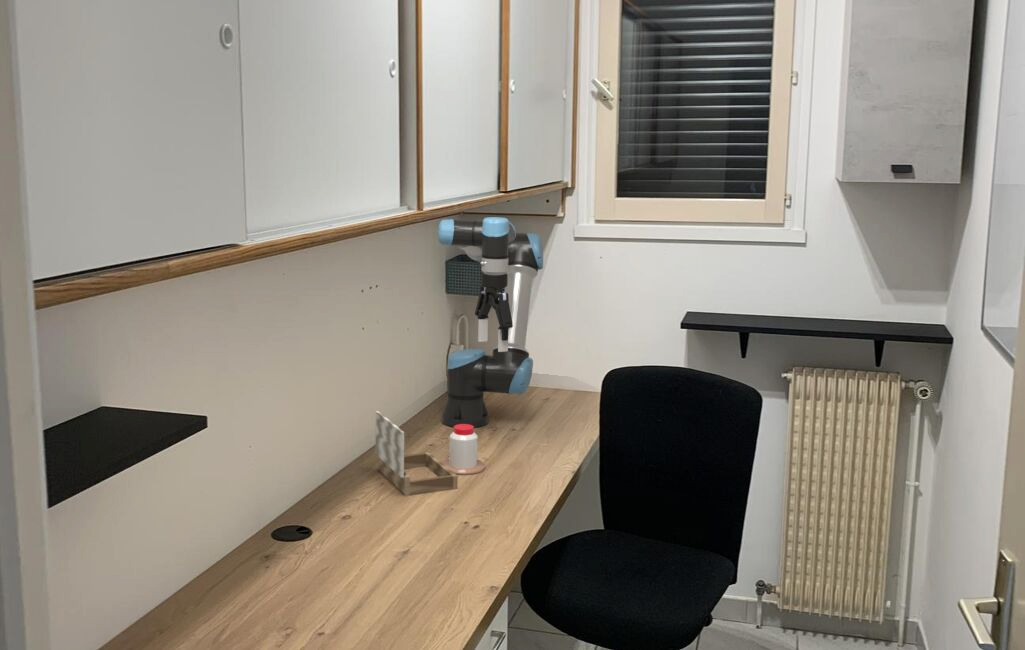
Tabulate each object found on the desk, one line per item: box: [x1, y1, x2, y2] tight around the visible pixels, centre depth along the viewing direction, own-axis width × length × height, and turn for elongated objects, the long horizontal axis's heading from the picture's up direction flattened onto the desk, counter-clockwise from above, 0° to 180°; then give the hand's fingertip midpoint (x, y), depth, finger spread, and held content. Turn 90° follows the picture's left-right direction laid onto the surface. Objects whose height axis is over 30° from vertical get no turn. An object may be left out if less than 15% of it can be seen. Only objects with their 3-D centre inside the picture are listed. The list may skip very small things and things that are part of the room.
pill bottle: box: [448, 424, 479, 469], centre depth 270 cm, size 8×8×11 cm
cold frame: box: [374, 410, 459, 497], centre depth 259 cm, size 20×16×17 cm
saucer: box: [442, 459, 486, 476], centre depth 271 cm, size 12×12×1 cm
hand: (492, 346), depth 279 cm, fingers open, 13 cm apart
